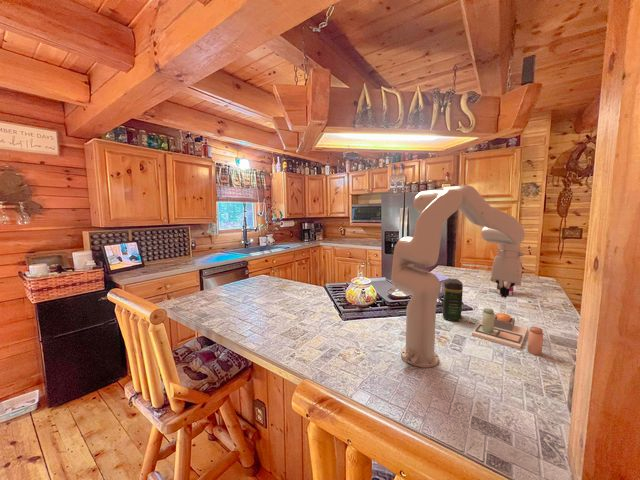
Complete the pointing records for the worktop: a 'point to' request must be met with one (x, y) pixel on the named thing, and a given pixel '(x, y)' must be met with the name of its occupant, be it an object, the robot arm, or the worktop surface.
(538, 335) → the peach cylinder
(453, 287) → the coffee jar
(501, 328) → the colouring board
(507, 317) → the button
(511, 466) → the worktop surface
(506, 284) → the supplement can
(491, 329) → the cylinder
